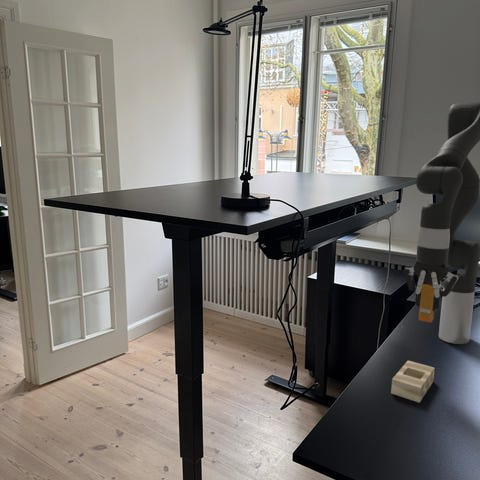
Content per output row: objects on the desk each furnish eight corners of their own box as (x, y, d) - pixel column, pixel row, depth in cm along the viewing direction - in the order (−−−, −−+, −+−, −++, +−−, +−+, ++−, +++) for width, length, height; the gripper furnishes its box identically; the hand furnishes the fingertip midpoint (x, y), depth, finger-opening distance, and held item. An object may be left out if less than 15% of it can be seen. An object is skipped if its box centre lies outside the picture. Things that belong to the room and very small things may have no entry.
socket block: (406, 373, 122) (407, 360, 122) (433, 381, 118) (434, 367, 118) (391, 393, 112) (392, 379, 112) (419, 402, 108) (420, 387, 107)
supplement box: (431, 323, 115) (434, 285, 113) (418, 320, 117) (420, 283, 115) (434, 319, 117) (437, 283, 116) (421, 317, 119) (424, 281, 118)
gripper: (466, 246, 112) (459, 310, 115) (409, 239, 121) (404, 300, 124) (459, 250, 107) (452, 318, 109) (400, 243, 115) (395, 306, 118)
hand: (427, 308), depth 117 cm, fingers closed on supplement box, 3 cm apart
